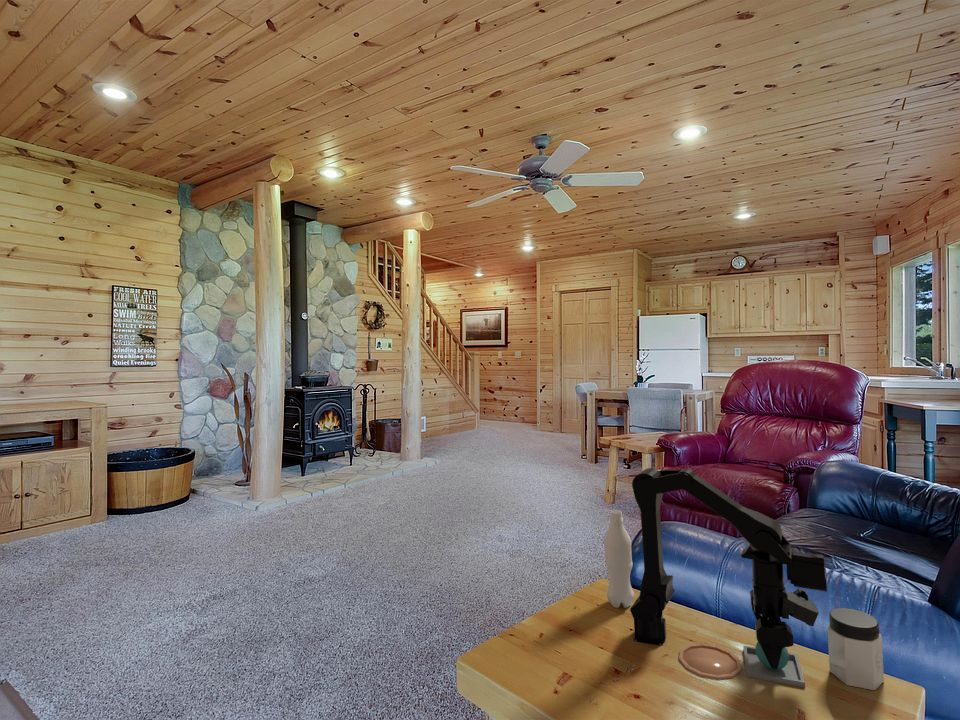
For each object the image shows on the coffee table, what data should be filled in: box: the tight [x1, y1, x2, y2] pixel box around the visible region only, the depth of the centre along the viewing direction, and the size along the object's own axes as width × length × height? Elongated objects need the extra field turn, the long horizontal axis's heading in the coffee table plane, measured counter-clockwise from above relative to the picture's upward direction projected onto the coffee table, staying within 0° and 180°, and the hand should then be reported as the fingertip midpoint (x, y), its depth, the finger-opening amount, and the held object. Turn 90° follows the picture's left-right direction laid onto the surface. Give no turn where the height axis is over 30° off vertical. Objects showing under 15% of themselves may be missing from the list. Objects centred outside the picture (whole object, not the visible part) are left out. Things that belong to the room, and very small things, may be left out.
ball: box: [755, 641, 789, 670], centre depth 106 cm, size 6×6×6 cm
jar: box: [827, 607, 885, 691], centre depth 103 cm, size 9×8×12 cm
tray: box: [743, 645, 806, 688], centre depth 106 cm, size 10×10×2 cm
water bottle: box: [603, 509, 635, 609], centre depth 138 cm, size 7×7×25 cm
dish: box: [678, 643, 742, 681], centre depth 110 cm, size 12×12×1 cm
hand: (771, 655), depth 106 cm, fingers open, 9 cm apart
